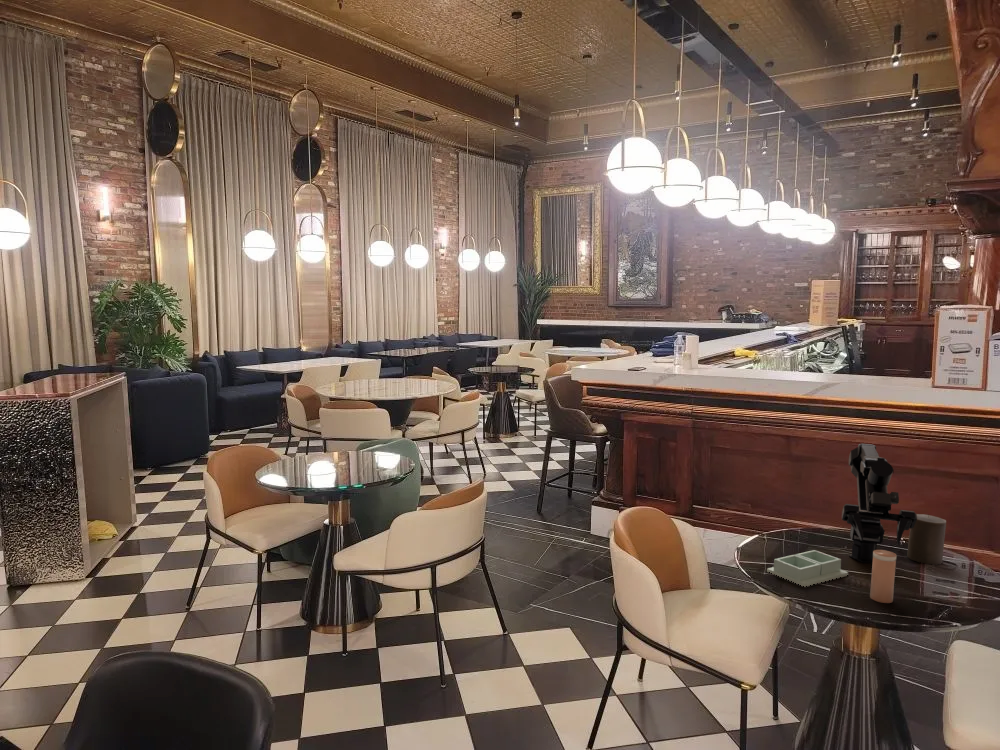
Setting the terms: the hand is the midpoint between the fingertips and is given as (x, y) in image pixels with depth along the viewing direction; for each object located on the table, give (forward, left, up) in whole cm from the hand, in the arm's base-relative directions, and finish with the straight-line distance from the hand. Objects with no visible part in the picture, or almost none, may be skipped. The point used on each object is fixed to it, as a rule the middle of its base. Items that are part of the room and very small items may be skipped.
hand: (880, 542), depth 197 cm
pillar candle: (-35, -17, -14) cm, 41 cm away
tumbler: (+5, +7, -14) cm, 16 cm away
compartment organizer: (+12, -14, -14) cm, 23 cm away
